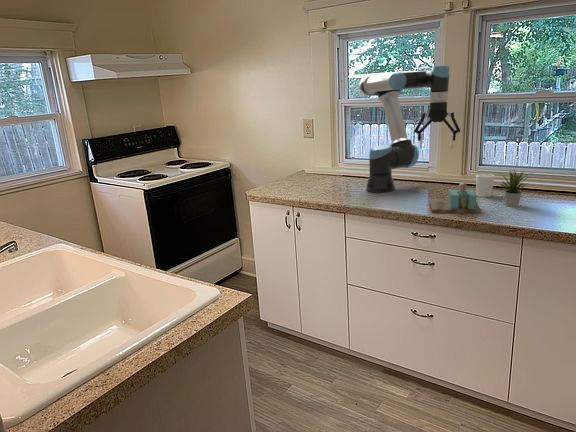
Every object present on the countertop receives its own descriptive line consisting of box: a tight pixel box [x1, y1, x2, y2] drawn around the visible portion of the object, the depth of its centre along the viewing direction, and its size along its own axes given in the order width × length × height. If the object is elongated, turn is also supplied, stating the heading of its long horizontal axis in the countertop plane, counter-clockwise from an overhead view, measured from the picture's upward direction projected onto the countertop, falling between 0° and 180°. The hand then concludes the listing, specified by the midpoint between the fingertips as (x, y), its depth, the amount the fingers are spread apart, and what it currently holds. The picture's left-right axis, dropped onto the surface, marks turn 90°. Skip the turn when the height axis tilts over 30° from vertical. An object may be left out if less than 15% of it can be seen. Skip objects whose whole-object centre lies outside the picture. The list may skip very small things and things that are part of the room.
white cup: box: [475, 173, 495, 198], centre depth 211 cm, size 8×8×10 cm
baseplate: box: [429, 182, 482, 214], centre depth 192 cm, size 20×13×12 cm, turn 76°
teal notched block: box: [448, 189, 478, 209], centre depth 192 cm, size 10×10×6 cm
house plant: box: [498, 169, 534, 208], centre depth 191 cm, size 14×14×16 cm
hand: (435, 147), depth 205 cm, fingers open, 13 cm apart
